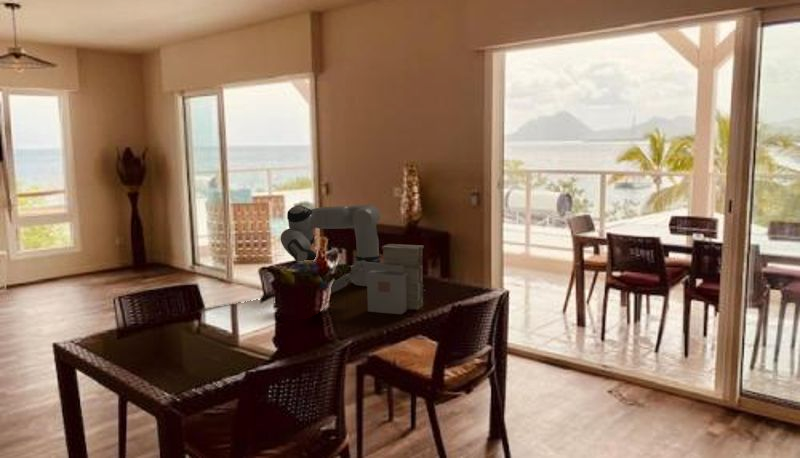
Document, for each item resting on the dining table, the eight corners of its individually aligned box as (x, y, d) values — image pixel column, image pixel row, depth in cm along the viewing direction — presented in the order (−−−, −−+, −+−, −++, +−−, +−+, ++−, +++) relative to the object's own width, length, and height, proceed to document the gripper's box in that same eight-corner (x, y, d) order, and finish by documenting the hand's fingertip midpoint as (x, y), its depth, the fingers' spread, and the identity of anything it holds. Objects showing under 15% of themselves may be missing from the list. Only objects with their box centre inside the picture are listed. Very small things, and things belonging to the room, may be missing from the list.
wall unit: (389, 302, 264) (388, 244, 261) (424, 305, 259) (423, 245, 256) (382, 307, 257) (381, 246, 254) (418, 310, 252) (417, 248, 248)
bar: (353, 268, 252) (353, 261, 252) (356, 266, 255) (356, 260, 255) (403, 272, 244) (403, 265, 244) (405, 270, 247) (405, 264, 247)
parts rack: (372, 307, 257) (371, 270, 255) (408, 310, 252) (407, 272, 249) (366, 311, 251) (365, 273, 248) (402, 314, 245) (401, 276, 243)
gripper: (323, 276, 248) (349, 261, 242) (344, 267, 267) (369, 253, 261) (330, 290, 247) (356, 275, 242) (351, 280, 266) (376, 266, 261)
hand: (363, 263), depth 252 cm, fingers closed on bar, 3 cm apart
